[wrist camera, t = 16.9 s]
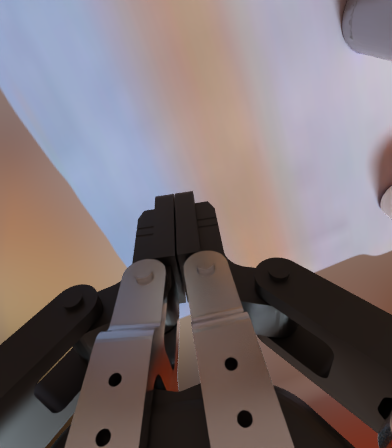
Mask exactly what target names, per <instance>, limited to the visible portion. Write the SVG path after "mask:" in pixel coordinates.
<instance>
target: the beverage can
mask: <svg viewBox="0 0 392 448" xmlns="http://www.w3.org/2000/svg"><path fill="white" fill-rule="evenodd" d="M380 205H381V210H382V211H383V212H384V213H385V214H386V215H387V216H388V217H389V218H390V219H391V220H392V186H391V187H390V188H389V189H388V190H387V191H386V192H385V194H384V195H383V197H382V199H381V204H380Z"/></svg>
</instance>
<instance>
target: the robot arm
mask: <svg viewBox="0 0 392 448" xmlns="http://www.w3.org/2000/svg"><path fill="white" fill-rule="evenodd" d="M342 30H343V35H344V39H345V41H346V43H347V45H348V46H349V47H350V48H351V49H352V50H354V51H355V52H357V53H361V54H365V55H369V56H373V57H377V58H381V59H385V60H389V61H392V0H348V1H347V4H346V7H345V10H344V14H343V20H342ZM185 292H186V295H185ZM186 296H187V301H188V302H189V307H190V313H191V318H192V322H191V324H192V332H193V338H194V344H195V350H196V357H197V363H198V370H199V376H200V381H201V383H200V384H198V385H196V386H193V387H191V388H188V389H186V390H184V391H181V392H179V387H178V373H177V372H178V354H179V334H180V333H179V332H180V321H179V303H186ZM256 335H257V336H258V338H259V339H260V340H261V341H262V342H263V343H264V344H266V345H267V346H268V347H269V348H271V349H272V350H273V351H274V352H276V353H277V354H278V355H279V356H281V357H282V358H283V359H284V360H286V361H287V362H288V363H290V364H291V365H292V366H293V367H295V368H296V369H297V370H299V371H300V372H301V373H302V374H304V375H305V376H306V377H307V378H308V379H310V380H311V381H312V382H314V383H315V384H316V385H317V386H319V387H320V388H321V389H322V390H324V391H325V392H326V393H327V394H329V395H330V396H331V397H333V398H334V399H335V400H336V401H338V402H339V403H340V404H342V405H343V406H344V407H345V408H346V409H348V410H349V411H350V412H351V413H353V414H354V415H356V416H357V417H358V418H359V419H361V420H362V421H363V422H364V423H365V424H367V425H368V426H369V427H370V428H372V429H373V430H374V431H375V432H377V433H378V444H379V448H392V315H391V314H389V313H387V312H385V311H383V310H382V309H380V308H378V307H376V306H374V305H372V304H371V303H369V302H367V301H365V300H363V299H361V298H359V297H358V296H356V295H354V294H352V293H350V292H348V291H346V290H345V289H343V288H341V287H339V286H337V285H335V284H333V283H332V282H330V281H328V280H326V279H324V278H322V277H321V276H319V275H317V274H315V273H313V272H311V271H309V270H308V269H306V268H304V267H302V266H300V265H298V264H296V263H295V262H293V261H291V260H288V259H285V258H269V259H266V260H264V261H262V262H261V263H259V265H258V266H257V267H256V268H251V267H244V266H239V265H237V264H234V263H233V262H231V261H230V260H229V259H228V258H227V257H226V256H225V254H224V250H223V246H222V241H221V236H220V232H219V227H218V222H217V218H216V213H215V208H214V207H213V206H212V205H211V204H210V203H209V202H208V201H207V202H200V203H195V201H194V195H193V191H190V192H183V193H176V194H175V196H174V194H170V195H163V196H156V197H155V209H153V210H147V211H144V212H143V213H142V215H141V216H140V218H139V219H138V225H137V232H136V240H135V248H134V255H133V263H132V265H130V266H129V267H128V268H127V269H126V270H125V272H124V274H123V276H122V280H121V281H120V282H119V283H117V284H115V285H113V286H111V287H108V288H106V289H103V290H101V291H99V292H97V291H96V290H95V289H94V288H93V287H92V286H90V285H76V286H73V287H70V288H68V289H66V290H65V291H63V292H62V293H60V294H59V295H58V296H57V297H56V298H55V299H53V300H52V301H51V302H50V303H49V304H48V305H46V306H45V307H44V308H43V309H42V310H41V311H39V312H38V313H37V314H36V315H35V316H34V317H32V318H31V319H30V320H29V321H28V322H27V323H25V324H24V325H23V326H22V327H21V328H20V329H18V330H17V331H16V332H15V333H14V334H13V335H11V336H10V337H9V338H8V339H7V340H6V341H4V342H3V343H2V344H1V345H0V448H45V447H46V445H47V444H48V443H49V442H50V441H51V440H52V438H53V437H54V436H55V435H56V434H57V432H58V431H59V430H60V429H61V428H62V427H63V425H64V424H65V423H66V422H67V421H68V419H69V418H70V417H71V416H72V415H73V413H74V412H75V413H74V417H73V420H72V423H71V425H70V426H69V427H68V428H67V429H66V430H65V431H64V432H63V433H62V434H61V435H60V437H59V438H58V439H57V440H56V441H55V443H54V444H53V445H52V446H51V448H355V447H353V445H352V444H350V443H349V442H348V441H347V440H346V439H345V438H344V437H343V436H342V435H340V434H339V433H338V432H337V431H336V430H335V429H334V428H333V427H331V425H329V424H328V423H327V422H326V421H325V420H324V419H323V418H322V417H321V416H320V415H318V414H317V413H316V412H315V411H314V410H313V409H312V408H311V407H309V406H308V405H307V404H306V403H305V402H304V401H302V400H301V399H300V398H298V397H297V396H295V395H294V394H292V393H290V392H288V391H286V390H284V389H282V388H279V387H277V386H274V385H273V384H272V381H271V378H270V375H269V372H268V369H267V366H266V363H265V360H264V357H263V354H262V351H261V348H260V346H259V343H258V340H257V337H256ZM71 347H73V348H72V349H71V351H69V352H68V353H67V354H66V355H65V357H64V358H62V360H61V361H59V362H58V364H57V365H56V366H55V367H54V368H53V369H52V370H51V371H50V372H49V373H48V374H47V375H46V376H45V377H44V378H43V379H42V380H41V381H40V382H39V383H38V381H39V380H40V379H41V377H42V376H43V375H45V374H46V373H47V371H49V370H50V368H52V366H53V365H54V364H55V363H56V362H57V361H58V360H59V359H60V358H61V357H62V356H63V355H64V354H65V353H66V352H67V351H68V350H69V349H70V348H71Z"/></svg>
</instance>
